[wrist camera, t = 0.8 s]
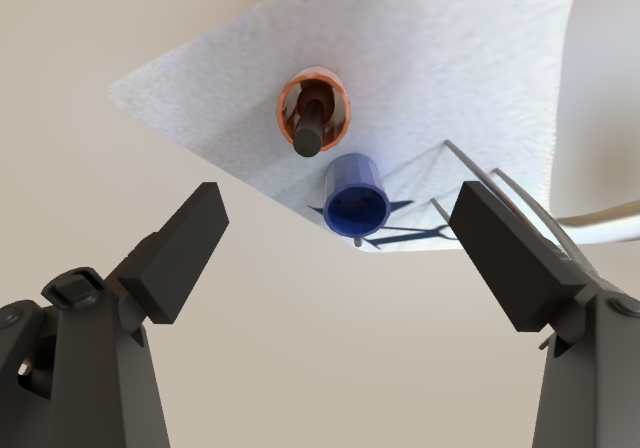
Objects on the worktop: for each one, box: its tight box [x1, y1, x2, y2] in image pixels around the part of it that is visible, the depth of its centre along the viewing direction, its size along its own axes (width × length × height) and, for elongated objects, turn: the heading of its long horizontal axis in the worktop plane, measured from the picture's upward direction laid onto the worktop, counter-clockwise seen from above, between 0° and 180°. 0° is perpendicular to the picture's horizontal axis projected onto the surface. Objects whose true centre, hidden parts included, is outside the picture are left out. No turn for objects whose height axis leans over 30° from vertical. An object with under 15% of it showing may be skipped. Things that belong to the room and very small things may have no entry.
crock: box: [276, 66, 351, 152], centre depth 30 cm, size 8×8×9 cm
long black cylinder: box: [293, 83, 335, 157], centre depth 27 cm, size 5×5×17 cm
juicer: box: [431, 140, 629, 296], centre depth 28 cm, size 10×11×30 cm
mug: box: [323, 154, 390, 247], centre depth 38 cm, size 13×9×10 cm
